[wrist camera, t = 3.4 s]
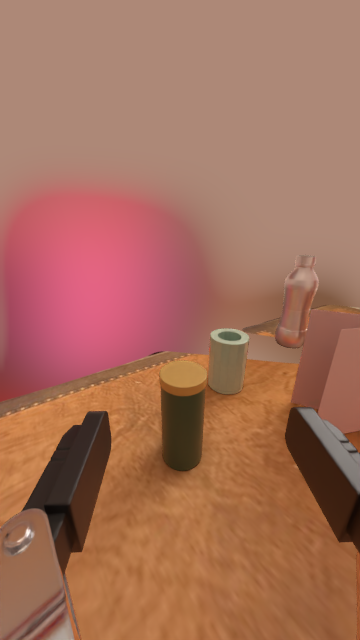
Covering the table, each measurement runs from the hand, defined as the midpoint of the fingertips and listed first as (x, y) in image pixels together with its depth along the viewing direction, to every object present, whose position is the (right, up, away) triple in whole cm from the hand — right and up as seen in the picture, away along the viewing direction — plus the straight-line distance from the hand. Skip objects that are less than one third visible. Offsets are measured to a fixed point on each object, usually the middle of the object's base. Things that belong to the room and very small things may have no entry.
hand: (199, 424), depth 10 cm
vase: (+7, -6, +29) cm, 31 cm away
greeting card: (+20, -10, +20) cm, 30 cm away
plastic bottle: (+24, -1, +43) cm, 49 cm away
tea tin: (-1, -11, +17) cm, 20 cm away
